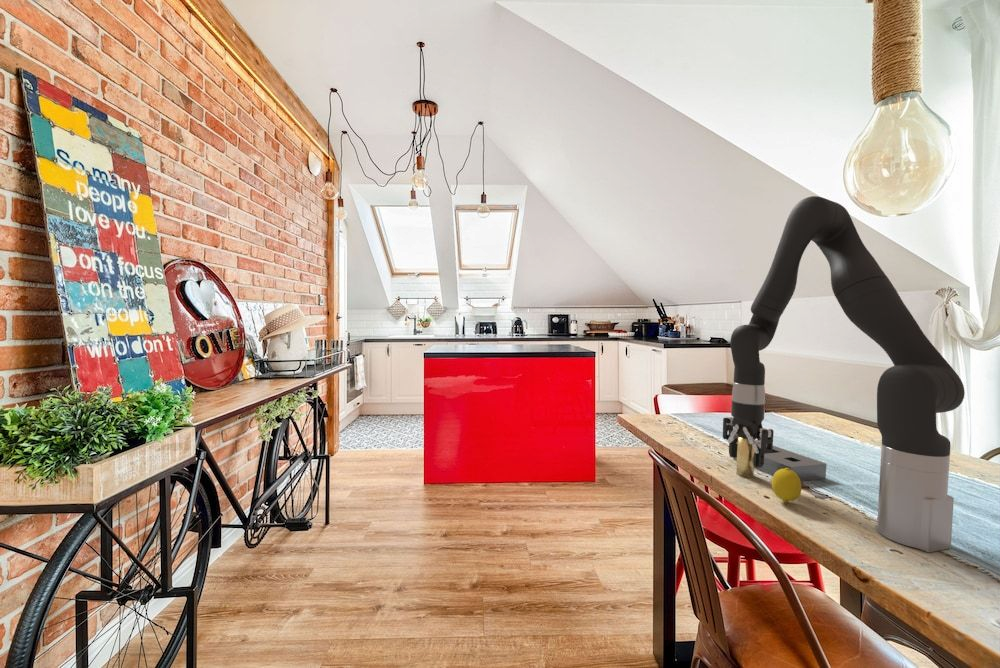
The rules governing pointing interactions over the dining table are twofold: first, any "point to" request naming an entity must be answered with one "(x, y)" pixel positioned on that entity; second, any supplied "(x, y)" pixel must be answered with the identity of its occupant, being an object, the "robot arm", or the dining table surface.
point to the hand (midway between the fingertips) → (745, 461)
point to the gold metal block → (745, 458)
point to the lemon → (786, 485)
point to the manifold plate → (792, 464)
